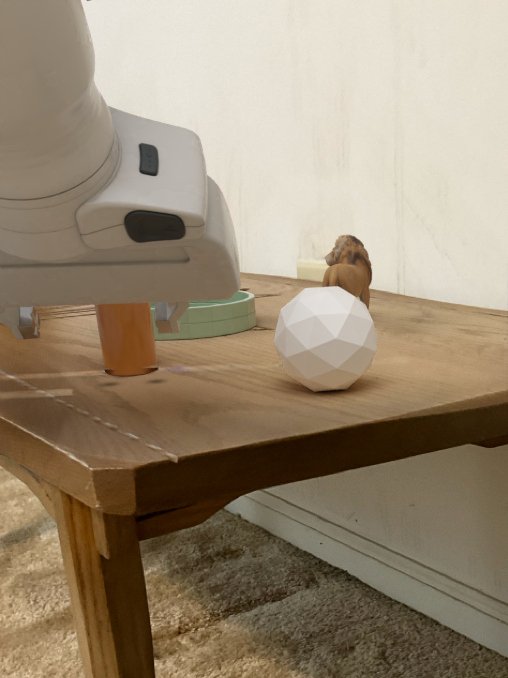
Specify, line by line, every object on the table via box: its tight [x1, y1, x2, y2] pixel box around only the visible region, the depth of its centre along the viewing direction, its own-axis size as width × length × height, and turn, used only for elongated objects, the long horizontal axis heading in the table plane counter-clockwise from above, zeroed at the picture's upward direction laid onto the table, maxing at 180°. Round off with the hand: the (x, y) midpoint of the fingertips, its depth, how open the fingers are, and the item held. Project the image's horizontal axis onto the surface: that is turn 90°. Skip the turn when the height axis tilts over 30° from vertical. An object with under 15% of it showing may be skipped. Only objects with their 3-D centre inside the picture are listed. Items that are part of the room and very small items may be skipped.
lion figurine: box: [321, 234, 373, 311], centre depth 89 cm, size 15×5×9 cm, turn 0°
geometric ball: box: [272, 286, 379, 393], centre depth 64 cm, size 8×8×8 cm
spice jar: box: [94, 303, 159, 377], centre depth 70 cm, size 4×4×9 cm
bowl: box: [150, 289, 257, 341], centre depth 88 cm, size 15×15×4 cm
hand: (100, 328), depth 59 cm, fingers open, 8 cm apart
